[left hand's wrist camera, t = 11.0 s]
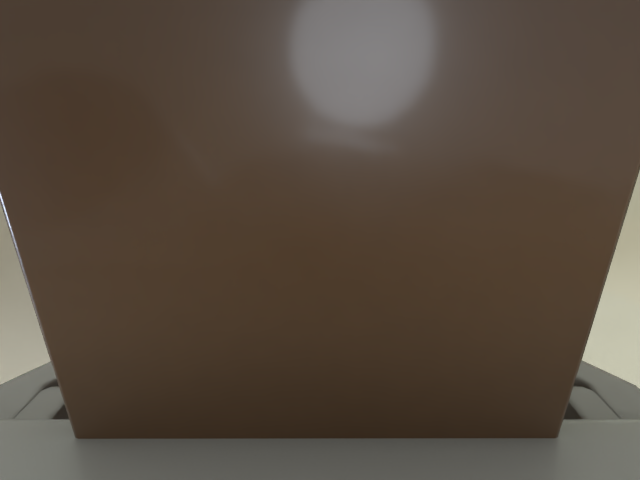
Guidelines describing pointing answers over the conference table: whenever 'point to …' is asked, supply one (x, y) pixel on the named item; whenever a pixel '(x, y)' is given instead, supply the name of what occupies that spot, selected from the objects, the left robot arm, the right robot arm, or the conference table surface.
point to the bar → (317, 208)
